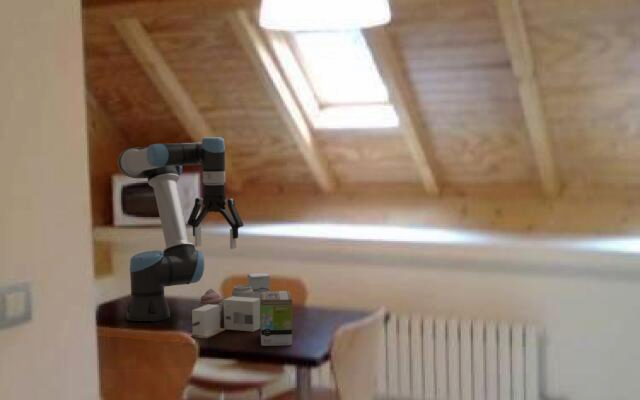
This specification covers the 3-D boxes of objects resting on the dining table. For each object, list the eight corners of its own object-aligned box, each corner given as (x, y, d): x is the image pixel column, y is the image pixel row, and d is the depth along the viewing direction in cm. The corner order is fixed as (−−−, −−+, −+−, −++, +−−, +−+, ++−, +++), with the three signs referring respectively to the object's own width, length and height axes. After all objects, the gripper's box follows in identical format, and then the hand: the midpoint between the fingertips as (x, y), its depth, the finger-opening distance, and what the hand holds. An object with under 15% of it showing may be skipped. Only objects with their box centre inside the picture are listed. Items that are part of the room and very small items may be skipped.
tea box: (293, 345, 283) (292, 298, 282) (261, 346, 282) (259, 299, 281) (291, 334, 298) (290, 289, 297) (260, 335, 297) (259, 290, 296)
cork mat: (187, 336, 297) (187, 334, 297) (206, 328, 308) (206, 326, 308) (206, 338, 294) (206, 336, 294) (224, 330, 305) (224, 328, 305)
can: (245, 323, 315) (244, 288, 314) (228, 320, 319) (227, 287, 318) (258, 318, 321) (257, 285, 320) (241, 316, 325) (240, 283, 324)
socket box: (224, 329, 306) (223, 299, 306) (232, 325, 312) (232, 296, 311) (253, 331, 302) (252, 301, 301) (261, 327, 308) (261, 298, 307)
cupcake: (214, 319, 321) (213, 291, 320) (193, 317, 326) (192, 289, 325) (229, 314, 329) (229, 287, 328) (208, 312, 334) (207, 285, 333)
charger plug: (187, 336, 294) (186, 312, 293) (212, 326, 309) (211, 302, 308) (199, 338, 292) (198, 313, 292) (223, 327, 307) (223, 303, 306)
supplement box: (251, 310, 336) (250, 276, 334) (247, 306, 343) (247, 273, 342) (270, 309, 337) (270, 275, 336) (267, 305, 344) (266, 272, 343)
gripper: (176, 183, 305) (177, 246, 307) (241, 185, 295) (242, 250, 297) (188, 182, 312) (189, 243, 314) (252, 183, 302) (253, 247, 304)
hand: (215, 247), depth 306 cm, fingers open, 13 cm apart
